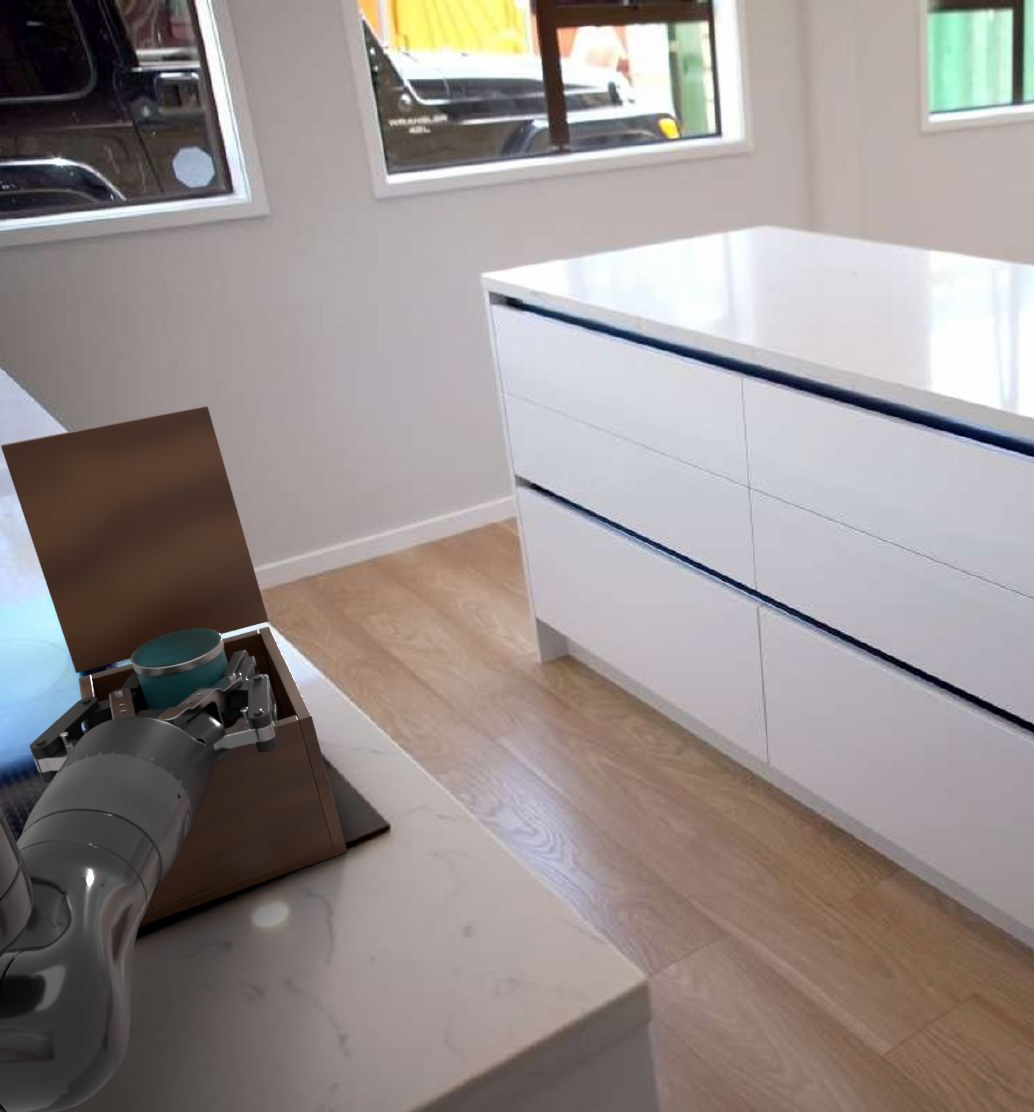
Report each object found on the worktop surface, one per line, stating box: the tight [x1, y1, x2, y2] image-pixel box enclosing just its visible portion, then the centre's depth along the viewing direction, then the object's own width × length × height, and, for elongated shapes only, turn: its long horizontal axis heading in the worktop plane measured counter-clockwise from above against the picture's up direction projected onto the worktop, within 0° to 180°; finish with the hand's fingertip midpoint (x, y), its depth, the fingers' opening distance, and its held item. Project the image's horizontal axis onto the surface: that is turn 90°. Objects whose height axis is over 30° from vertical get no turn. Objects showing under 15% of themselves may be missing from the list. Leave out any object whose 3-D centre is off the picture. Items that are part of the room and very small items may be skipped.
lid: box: [0, 405, 269, 674], centre depth 88 cm, size 16×13×1 cm
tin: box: [130, 629, 237, 726], centre depth 83 cm, size 5×5×9 cm
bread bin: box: [78, 625, 348, 925], centre depth 87 cm, size 16×13×11 cm
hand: (199, 669), depth 85 cm, fingers closed on tin, 5 cm apart
